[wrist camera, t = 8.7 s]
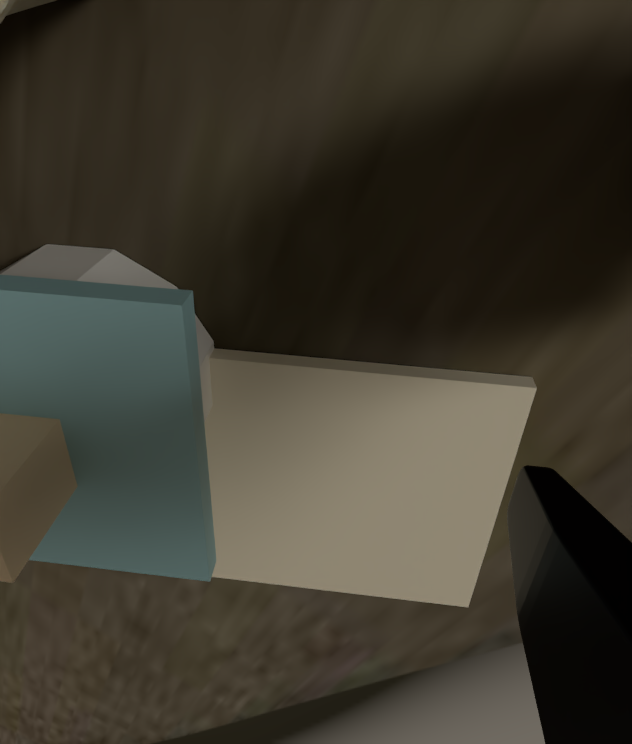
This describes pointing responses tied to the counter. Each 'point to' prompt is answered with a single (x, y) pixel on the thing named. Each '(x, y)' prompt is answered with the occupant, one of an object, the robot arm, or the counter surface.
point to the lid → (102, 430)
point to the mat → (358, 472)
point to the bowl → (108, 270)
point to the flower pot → (18, 6)
